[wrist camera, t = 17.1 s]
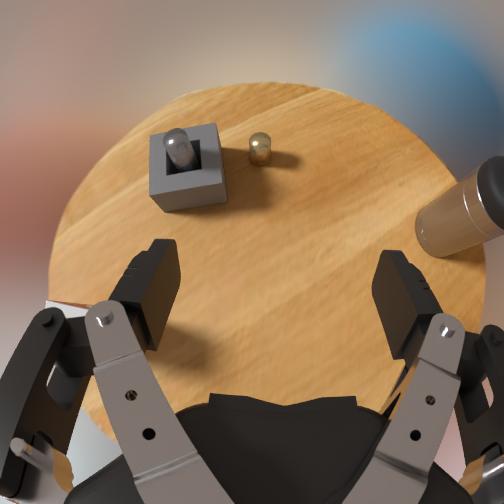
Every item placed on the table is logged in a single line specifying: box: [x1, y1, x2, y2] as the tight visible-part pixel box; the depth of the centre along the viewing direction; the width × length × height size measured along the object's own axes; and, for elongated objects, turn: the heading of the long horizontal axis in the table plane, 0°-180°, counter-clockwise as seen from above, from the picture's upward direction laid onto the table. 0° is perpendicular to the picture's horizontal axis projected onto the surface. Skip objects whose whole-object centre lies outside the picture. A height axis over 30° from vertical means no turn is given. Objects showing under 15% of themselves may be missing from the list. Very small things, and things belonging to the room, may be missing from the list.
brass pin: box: [249, 132, 271, 166], centre depth 43 cm, size 3×3×5 cm
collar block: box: [149, 123, 228, 212], centre depth 42 cm, size 10×10×7 cm
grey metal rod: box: [163, 128, 201, 173], centre depth 39 cm, size 3×3×12 cm
